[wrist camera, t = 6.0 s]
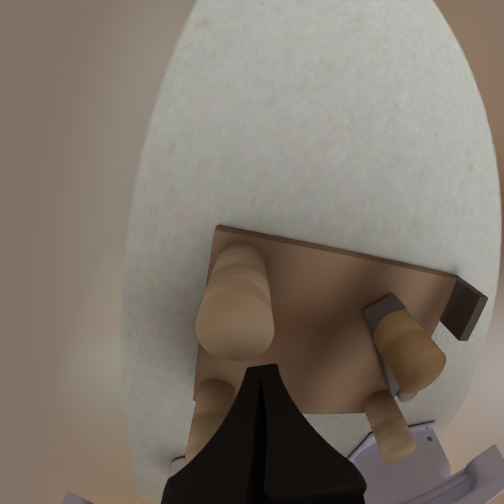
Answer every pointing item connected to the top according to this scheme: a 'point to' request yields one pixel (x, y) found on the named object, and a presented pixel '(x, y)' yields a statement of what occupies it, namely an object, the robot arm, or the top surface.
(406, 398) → the grey bar with knob
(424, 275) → the stool board
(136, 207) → the top surface
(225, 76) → the top surface
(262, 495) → the robot arm
